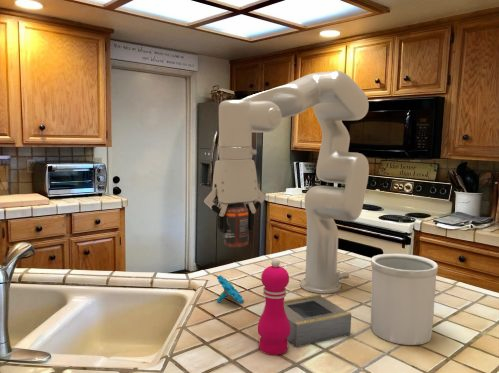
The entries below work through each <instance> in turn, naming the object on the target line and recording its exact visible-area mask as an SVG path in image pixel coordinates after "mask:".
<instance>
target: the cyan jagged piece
mask: <svg viewBox="0 0 499 373" xmlns="http://www.w3.org/2000/svg"><path fill="white" fill-rule="evenodd" d="M216 278H217V282H218V283H219V284H220V285H221V288H222V289H223V291H222V292H221V293H220V294H219V297H218V298H217V299H216V301H217V303H218V304H220V303H221V302H222V301H223V300H224V299H225V298H226V297H229V296H230V297H231V296H232V298H233V300H235V302H238V303H239V304H242V303H243V302H245V300H244V298H243V296H242V295H241V294H240V293H239V291H238V290H237V289H236V288H235V287H234V286H233V284H232V282H231V281H229V280H227V279H226V277H223V276H222V275H221V274H220V275H218V276H217V277H216Z"/></svg>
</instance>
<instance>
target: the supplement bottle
mask: <svg viewBox="0 0 499 373" xmlns="http://www.w3.org/2000/svg"><path fill="white" fill-rule="evenodd" d="M225 216H226V217H227V232H226V233H223V244H224V246H226V247H229V248H242V247H245V246H247V245H249V237H250V236H249V229H248V208H247V207H245V204H244V203H241V202H238V203H234V204H228V206H227V209H226V211H225Z"/></svg>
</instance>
